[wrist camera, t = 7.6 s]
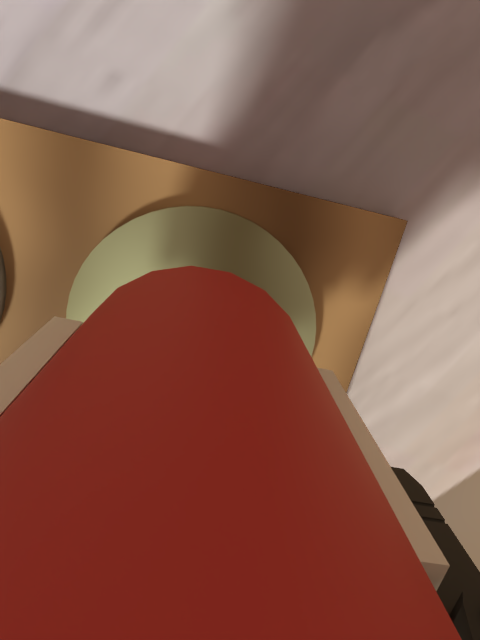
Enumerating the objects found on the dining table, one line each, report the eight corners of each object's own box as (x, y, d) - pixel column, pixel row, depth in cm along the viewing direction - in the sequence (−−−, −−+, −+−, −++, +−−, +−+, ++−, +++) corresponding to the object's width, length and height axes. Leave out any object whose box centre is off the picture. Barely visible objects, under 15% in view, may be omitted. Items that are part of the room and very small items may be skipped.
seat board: (-295, 364, 17) (-344, 383, 15) (-357, 28, 13) (-431, 9, 12) (311, 462, 20) (319, 484, 19) (396, 218, 17) (414, 222, 15)
